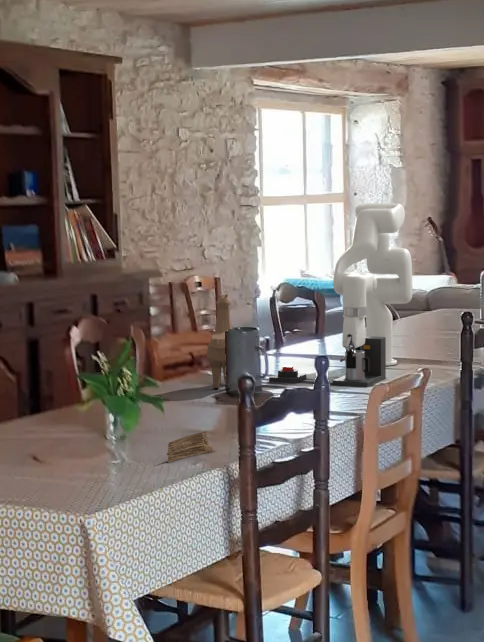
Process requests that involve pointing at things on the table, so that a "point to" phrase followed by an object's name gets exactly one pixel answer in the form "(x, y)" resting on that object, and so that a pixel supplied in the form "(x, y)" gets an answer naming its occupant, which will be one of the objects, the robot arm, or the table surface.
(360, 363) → the kettle
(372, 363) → the coffee maker
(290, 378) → the switch block
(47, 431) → the table surface
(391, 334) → the robot arm
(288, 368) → the power button
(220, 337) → the toy
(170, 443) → the wood plank
